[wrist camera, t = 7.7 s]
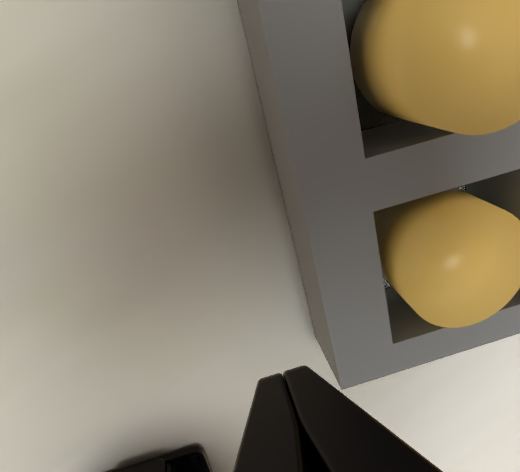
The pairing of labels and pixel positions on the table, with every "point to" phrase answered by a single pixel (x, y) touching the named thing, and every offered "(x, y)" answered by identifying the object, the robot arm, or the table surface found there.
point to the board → (362, 190)
